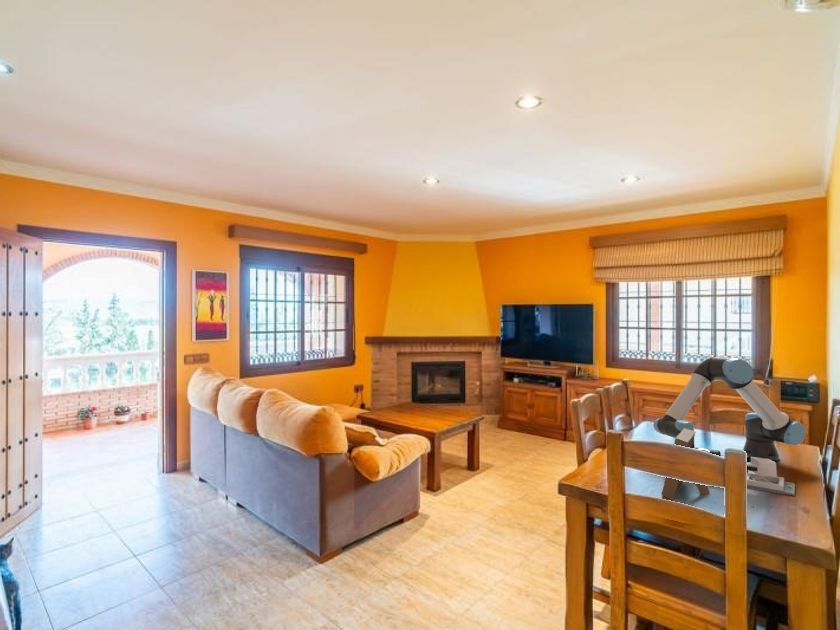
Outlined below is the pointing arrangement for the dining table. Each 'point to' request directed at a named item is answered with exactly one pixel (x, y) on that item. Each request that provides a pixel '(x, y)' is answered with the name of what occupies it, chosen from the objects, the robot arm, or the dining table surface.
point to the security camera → (765, 463)
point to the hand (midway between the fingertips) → (768, 466)
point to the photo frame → (674, 485)
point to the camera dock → (771, 484)
